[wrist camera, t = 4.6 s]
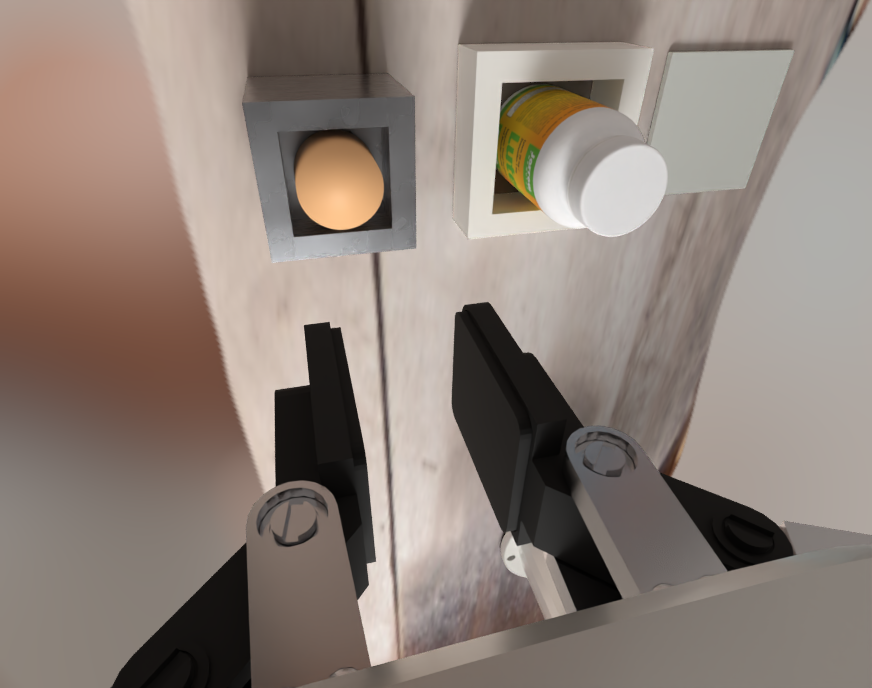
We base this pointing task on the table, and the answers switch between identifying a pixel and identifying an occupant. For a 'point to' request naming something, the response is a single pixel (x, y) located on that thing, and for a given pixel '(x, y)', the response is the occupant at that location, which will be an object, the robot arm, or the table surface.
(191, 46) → the table surface
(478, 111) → the collar
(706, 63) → the mat
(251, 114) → the egg pedestal
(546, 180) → the supplement bottle
